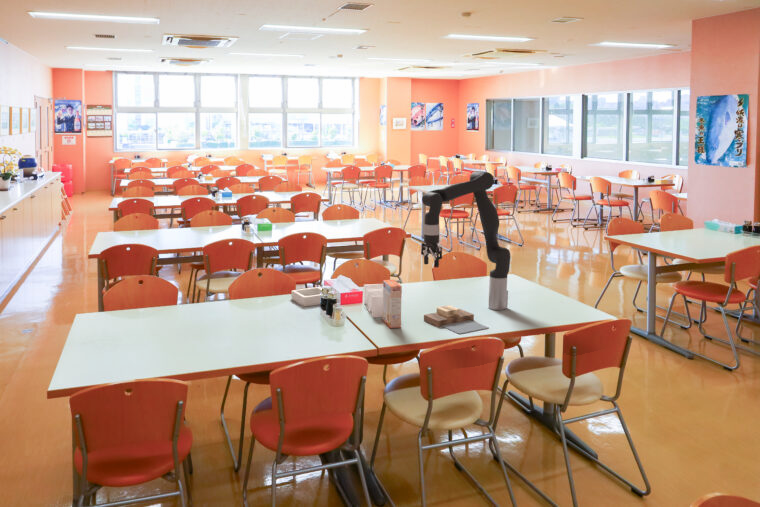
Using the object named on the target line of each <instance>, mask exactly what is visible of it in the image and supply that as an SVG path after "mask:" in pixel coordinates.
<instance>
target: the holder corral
mask: <svg viewBox="0 0 760 507" xmlns="http://www.w3.org/2000/svg"><path fill="white" fill-rule="evenodd" d="M322 289H323V288H322V287H320V286H317V287H316V286H315V287H314V286H313V287H308V288H307V287H306V288H301V289H293V290H291V300H292V301H294V302H296V303H298V304H299V305H301V306H302V307H308V306H309V307H311V306H317V305H318V306H319V305H321V304H320V297H321V294H320V293H321V291H322Z"/></svg>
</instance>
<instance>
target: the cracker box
mask: <svg viewBox="0 0 760 507" xmlns="http://www.w3.org/2000/svg"><path fill="white" fill-rule="evenodd" d="M382 284H383V317H382V321H383V322H384V323H385V325H386V326H387V327H388V328H389V329H398V328H401V327H402V295H403V294H402V293H403V292H402V291H403V290H402V285H401V284H399V283H398V282H397V281H396V280H395V279H383V282H382Z"/></svg>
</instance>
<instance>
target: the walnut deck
mask: <svg viewBox="0 0 760 507" xmlns="http://www.w3.org/2000/svg"><path fill="white" fill-rule="evenodd" d="M458 309H459V315H456V316H451V317H444V316H442V315H440V314H437V312H432V313H427V314H423V321H425V322H427V323H429V324H431V325H433V326H435V327H437V328H440V327H442V325H447V324H452V323H457V322H463V321H468V320H472V321H474V320H475V317H474V316H475V314H473V313H471V312H468V311H466V310H465V309H464V310H463V309H461V308H458Z"/></svg>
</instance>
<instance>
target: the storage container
mask: <svg viewBox="0 0 760 507" xmlns="http://www.w3.org/2000/svg"><path fill="white" fill-rule="evenodd" d="M363 305H366V309H367V310H368V312H371V318H376V317H377V318H378V317H379V318H381V317H382V318H383V283H373V284H371V283H370V284H363Z"/></svg>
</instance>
